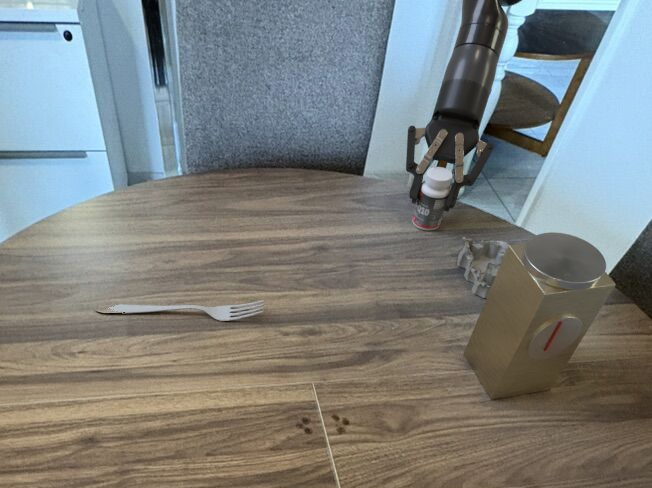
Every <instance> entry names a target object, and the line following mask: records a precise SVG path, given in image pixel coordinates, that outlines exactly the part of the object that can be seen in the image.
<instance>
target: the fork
mask: <svg viewBox="0 0 652 488" xmlns="http://www.w3.org/2000/svg"><path fill="white" fill-rule="evenodd" d="M264 303H265V300H258V301H253V302H248V303H241V304H230V305H218V306H211V307H210V306H204V305H203V306H202V305H196V304H195V305H194V304H182V305H180V304H179V305H178V304H177V305H155V304H154V305H152V304H151V305H150V304H149V305H148V304H144V305H143V304H120V303H119V305H115V306H114V307H113V306H112V307H109V308H110V309H112V310H113V309H114V310H113V311H115V312H116V311H118V312H121V311H122V314H138V313H154V312H155V313H156V312H165V311H166V312H167V311H178V310H197V311H201V312H204V313H206V314H207V315H209V317H211V318H213V319H214V320H216V321H219V322H226V321H235V320H239V319H244V318H248V317H253V316H255V315H256V316H257V315H259V314H262V313H263V314H264V309H265V308H264V306H265V304H264ZM109 308H108V309H109ZM112 310H111V311H112ZM123 312H125V313H123Z"/></svg>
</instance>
